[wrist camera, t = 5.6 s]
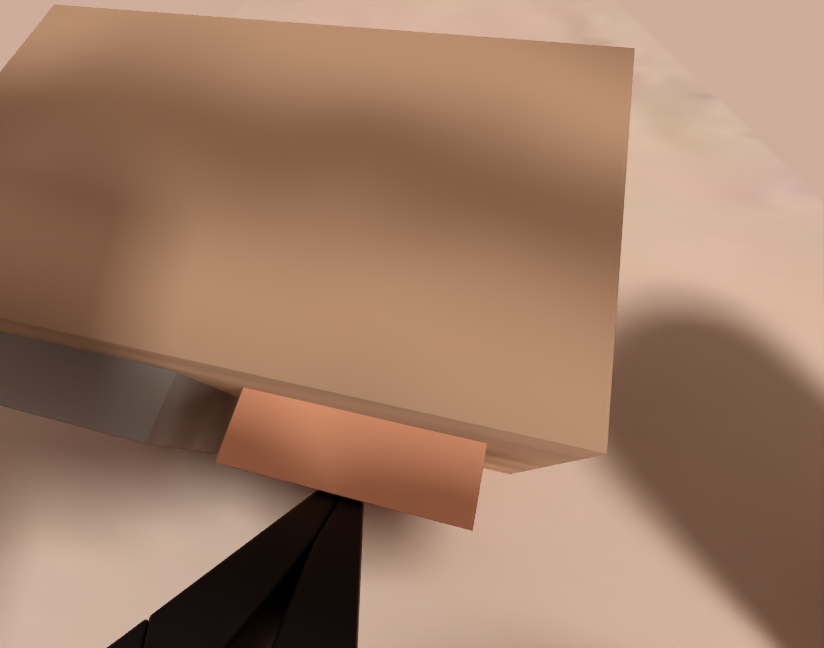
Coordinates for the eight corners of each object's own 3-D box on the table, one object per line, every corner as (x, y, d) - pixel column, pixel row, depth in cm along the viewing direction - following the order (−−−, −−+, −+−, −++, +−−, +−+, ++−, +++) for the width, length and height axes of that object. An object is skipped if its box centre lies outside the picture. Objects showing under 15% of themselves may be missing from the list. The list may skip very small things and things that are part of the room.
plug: (462, 511, 13) (472, 531, 7) (310, 472, 14) (214, 462, 8) (508, 245, 16) (541, 117, 10) (384, 226, 17) (353, 97, 11)
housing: (503, 520, 14) (597, 578, 5) (142, 427, 16) (-227, 354, 7) (538, 273, 17) (634, 48, 8) (233, 224, 19) (54, 4, 11)
